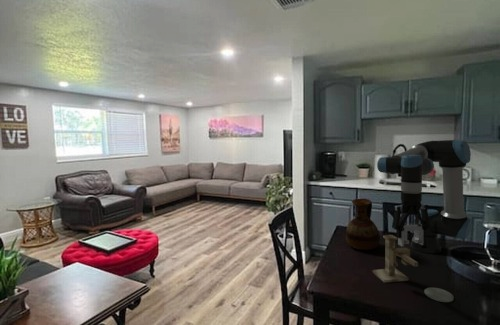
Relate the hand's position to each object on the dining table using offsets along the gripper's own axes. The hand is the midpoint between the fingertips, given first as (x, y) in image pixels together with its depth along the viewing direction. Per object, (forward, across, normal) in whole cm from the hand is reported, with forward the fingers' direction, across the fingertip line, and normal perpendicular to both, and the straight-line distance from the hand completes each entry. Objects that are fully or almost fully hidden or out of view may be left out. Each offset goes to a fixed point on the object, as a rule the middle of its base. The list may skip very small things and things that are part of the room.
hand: (410, 244), depth 115 cm
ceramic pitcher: (+21, -6, -51) cm, 56 cm away
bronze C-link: (+12, 0, -7) cm, 14 cm away
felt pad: (+21, -10, +4) cm, 24 cm away
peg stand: (+21, 0, -8) cm, 23 cm away
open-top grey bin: (-1, 0, 0) cm, 1 cm away
